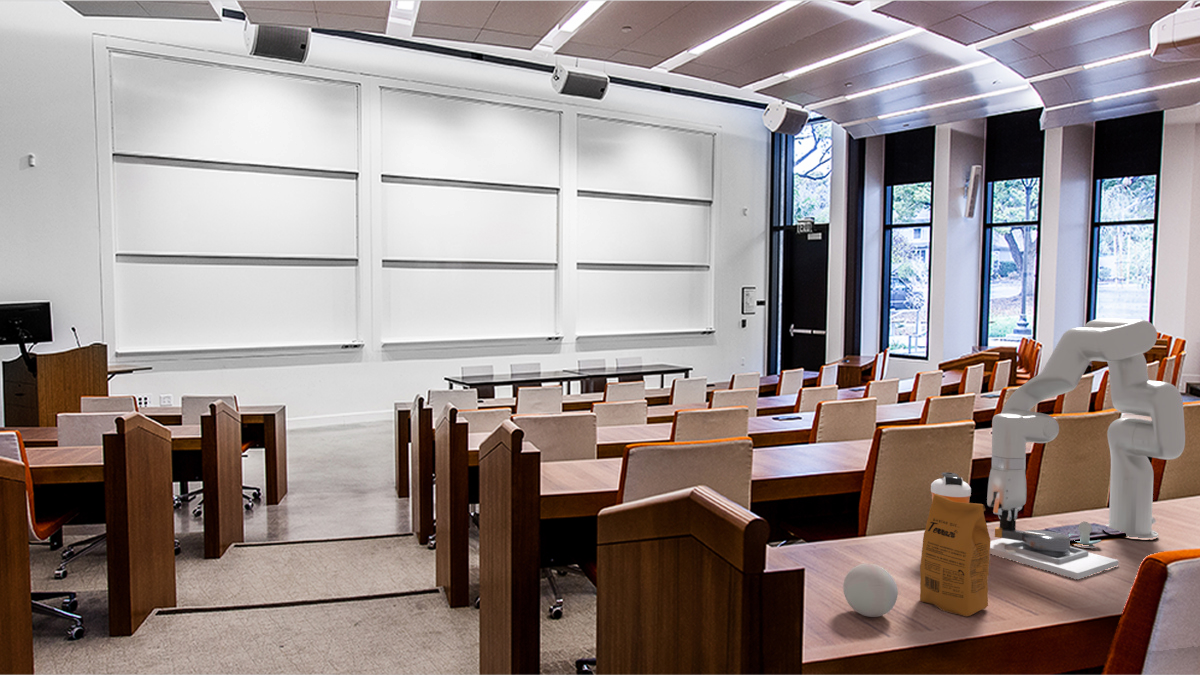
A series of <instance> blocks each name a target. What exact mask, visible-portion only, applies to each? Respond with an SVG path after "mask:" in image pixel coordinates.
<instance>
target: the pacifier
mask: <svg viewBox="0 0 1200 675" xmlns="http://www.w3.org/2000/svg"><path fill="white" fill-rule="evenodd" d="M1092 530H1093V527H1092V525H1091V523H1089V522H1088V521H1081V522H1080V523H1078V531H1079V534H1080V535H1079V537H1080V541H1075V540H1074V541H1075V542H1077V543H1080V544H1083V545H1089V546H1082V545H1078V544H1074V545H1077V546H1081V547H1085V548H1096V549H1097V547H1096V546H1095V544H1096V545H1097V544H1099V543H1101V542H1102V540H1101V539H1097V540H1090V538H1091V536H1090V534H1091V532H1092ZM1071 535H1075V534H1074V533H1068V537H1070V536H1071Z"/></svg>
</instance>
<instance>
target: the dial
mask: <svg viewBox="0 0 1200 675" xmlns="http://www.w3.org/2000/svg"><path fill="white" fill-rule="evenodd" d="M994 538H998V539H1001V538H1006V539H1012V540H1018V541H1023V549H1025V550H1029V551H1032V552H1036V553H1040V554H1043V555H1047V556H1051V557H1054V558H1060V557H1064V556H1067V555H1070V547H1071V545H1070V541H1071V539H1070V538H1069V535H1066V534H1063V533H1060V532H1056V531H1051V530H1043V529H1028V530H1027V529H1026V530H1017V529H1016V530H1012V529H1006V528H1001V527H1000V526H995V528H994Z"/></svg>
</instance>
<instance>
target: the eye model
mask: <svg viewBox="0 0 1200 675" xmlns="http://www.w3.org/2000/svg"><path fill="white" fill-rule="evenodd" d="M842 587H843V590H842V591H843V594H844V595H843V596H844V597H845V600H846V602H847V604H848V605H849V606H850V607H851V609H852V610H854V611H855V612H856V613H858V614H860V615H862V616H865V617H868V618H869V617H870V618H878V617H882V616H885V615H887V614H888V613H889V612H890V611H891V610H892V609H893V608H894V606H895V605H896V603H897V599H898V594H899V589H898V586H897V582H896V581H895V579H894V578H893V576H892V574H890V572H888V571H887V570H886V569H885V568H883V567H882V566H880V565H878V564H876V563H875V564H874V563H861V564H858V565H856V566H854V567H852V568H851V569H850V570H849V571H848V573H847V574H846V575H845V578H844V581H843V585H842Z"/></svg>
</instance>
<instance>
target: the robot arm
mask: <svg viewBox="0 0 1200 675" xmlns="http://www.w3.org/2000/svg"><path fill="white" fill-rule="evenodd" d="M1157 339H1158V332H1157V329H1156V327H1155V325H1154V324H1152V322H1150V321H1147V320H1145V319H1139V318H1132V319H1131V318H1128V319H1127V318H1097V319H1093V320H1089V321H1088V322H1087V323H1086V324H1085V325H1084V327H1072V328H1070V329H1068V330H1066V331H1064V333H1063V334H1062V335H1061V337H1060V338H1059V340H1058V342H1057V344H1056V346H1055V348H1054V349H1053V351H1052V352H1051V355H1050V356H1049V358H1048V360H1047V361H1046V364H1045V365H1044V367H1043V369H1042V371H1040V373H1039V374H1037V375H1036V376H1034V377H1032V378H1031V379H1029V380H1028V381H1026V382H1025V383H1024V384H1022V385H1021V386H1019V387H1018V388H1017V389H1015V391H1013V393H1012V394H1011V395H1010V396H1009V398H1008V399H1007V401H1006V403H1005V404H1004V406H1003V408H1002V410H1001V412H1000V413H998V414H995V415H994V416H993V417H992V420H991V421H992V422H991V424H992V427H991V429H992V432H991V468H990V472H989V476H988V483H987V494H986V495H987V497H986V499H987V500H986V503H987V506H988V507H989V508H993V510H992V512H993V514H994V515H997V516H998V519H999V527H1001V528H1006V529H1012V530H1017V529H1016V527H1017V526H1016V524H1017V522H1016V521H1017V519H1018V512H1019V511H1021V510H1022V509H1023V506H1024V505H1025V504H1026V502H1027V479H1026V458H1027V457H1026V456H1027V454H1026V453H1027V452H1026V448H1027V445H1026V444H1027V443H1036V444H1046V443H1049V442H1052V441H1054V440H1055V439H1056V438H1057V437H1058V435H1059V432H1060V426H1059V423H1058V421H1057V420H1056V418H1055V417H1053V416H1051V415H1050V414H1046V413H1042V412H1034V411H1031V410H1032V409H1033V407H1035V406H1036V405H1038V404H1039V403H1040V402H1043V401H1044V400H1047V399H1050V398H1053V397H1056V396H1060V395H1064V394H1066V393H1070V392H1072V391H1073V390H1075V389H1076V387H1077V386H1078V385H1079V383H1080V381H1081V379H1082V377H1083V376H1084V374H1085V372H1086V370H1087V368H1088V367H1089V365H1090V363H1091V362H1107V366H1108V374H1109V385H1110V388H1109V389H1110V396H1111V397H1110V398H1111V404H1112V407H1113V408H1114V409H1115V410H1116V411H1117V412H1120V413H1123V414H1129V415H1135V416H1141V417H1149V418H1151V420H1150V419H1143V418H1135V417H1119V418H1117V419H1115V420H1113V421H1112V422H1111V423H1110V425H1109V426H1108V428H1107V432H1106V434H1107V437H1106V438H1107V443H1108V447H1109V452H1110V477H1109V478H1110V479H1109V480H1110V483H1109V484H1110V485H1109V512H1108V514H1109V515H1108V523H1106V524H1104V525H1106V526H1109V527H1110V528H1112V529H1115V530H1118V531H1121V532H1124V533H1126V536H1129V537H1138V538H1153V537H1157V536H1158V537H1159V535H1158V534H1159V533H1158V532H1157V531H1155V530H1153V529H1152V526H1153V525H1154V524H1156V522H1157V521H1156V518H1155V517H1153V504H1154V502H1153V500H1154V499H1153V498H1154V495H1153V494H1154V469H1153V465H1152V463H1151V462H1150V459H1149V458H1154V459H1159V460H1175V459H1178V458H1179V457H1180V456H1181V455H1182V453H1183V452H1184V449H1185V444H1186V429H1185V428H1186V427H1185V413H1184V402H1183V397H1182V393H1181V392H1180V391H1179V388H1178V387H1176V386H1175V385H1174V384H1173V383H1169V382H1166V381H1160V380H1151V379H1150V378H1149V373H1148V365H1147V360H1146V357H1145V353H1147V352H1149V351H1150V350H1151V349H1152V348H1153V347H1154V346H1155V344H1156V342H1157V341H1158V340H1157Z"/></svg>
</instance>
